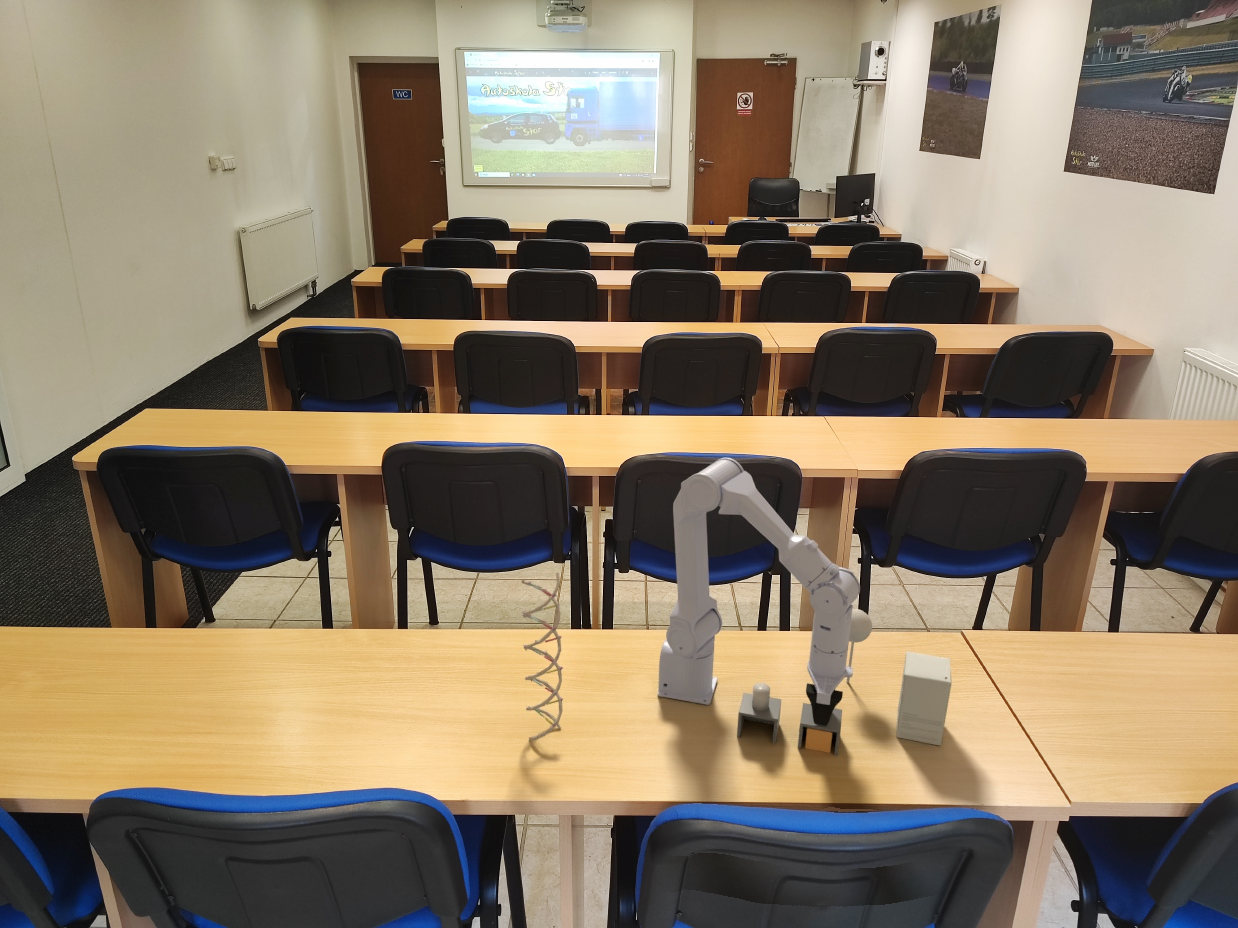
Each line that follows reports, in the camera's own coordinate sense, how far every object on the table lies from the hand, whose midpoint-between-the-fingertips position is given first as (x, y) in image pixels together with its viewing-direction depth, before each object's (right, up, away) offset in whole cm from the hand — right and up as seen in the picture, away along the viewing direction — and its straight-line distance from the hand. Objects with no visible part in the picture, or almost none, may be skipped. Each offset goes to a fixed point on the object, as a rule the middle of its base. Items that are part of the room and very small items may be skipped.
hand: (821, 714), depth 144 cm
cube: (0, -5, +2) cm, 6 cm away
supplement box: (+18, -4, +5) cm, 19 cm away
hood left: (-10, -4, +5) cm, 11 cm away
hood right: (0, -5, +2) cm, 5 cm away
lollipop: (+9, +1, +17) cm, 19 cm away
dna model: (-45, -4, +3) cm, 46 cm away
